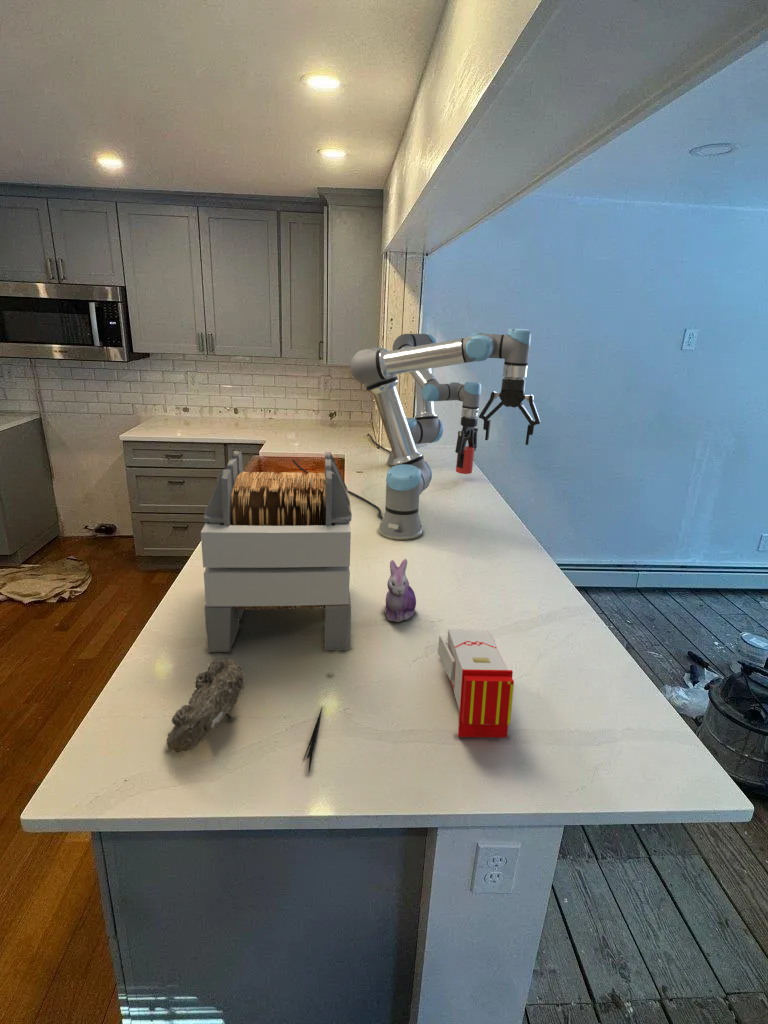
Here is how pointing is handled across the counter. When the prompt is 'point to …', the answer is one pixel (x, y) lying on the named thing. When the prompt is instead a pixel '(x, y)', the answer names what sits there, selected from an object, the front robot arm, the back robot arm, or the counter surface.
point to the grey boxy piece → (277, 549)
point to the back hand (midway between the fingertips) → (464, 465)
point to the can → (466, 461)
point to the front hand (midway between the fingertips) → (506, 441)
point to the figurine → (399, 594)
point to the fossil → (206, 705)
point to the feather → (313, 740)
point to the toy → (478, 682)
